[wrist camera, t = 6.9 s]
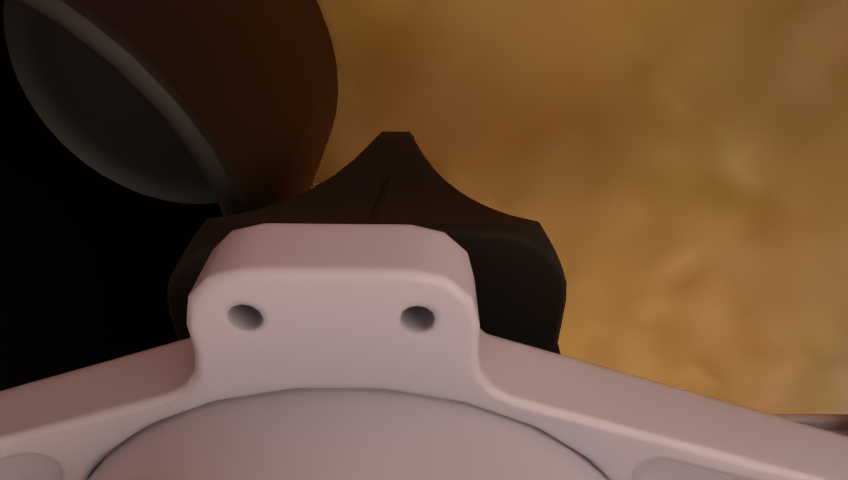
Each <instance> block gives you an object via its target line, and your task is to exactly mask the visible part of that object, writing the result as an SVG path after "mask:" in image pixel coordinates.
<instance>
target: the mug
mask: <svg viewBox="0 0 848 480" xmlns="http://www.w3.org/2000/svg"><path fill="white" fill-rule="evenodd" d="M337 95H338V81H337V67H336V60H335V55H334V51H333V46H332V42H331V38H330V35H329V32H328V29H327V26H326V23H325V21H324V18H323V16H322V13H321V11H320V8H319V6H318V4H317V2H316V0H0V391H3V390H6V389H10V388H13V387H17V386H20V385H24V384H28V383H31V382H35V381H38V380H42V379H45V378H49V377H52V376H56V375H60V374H63V373H67V372H70V371H74V370H77V369H81V368H84V367H88V366H91V365H95V364H99V363H102V362H106V361H109V360H113V359H116V358H120V357H123V356H127V355H131V354H134V353H138V352H141V351H145V350H148V349H152V348H155V347H159V346H162V345H166V344H170V343H173V342H177V341H179V340H178V337H177V334H176V331H175V328H174V324H173V321H172V318H171V315H170V312H169V307H168V299H167V289H168V284H169V280H170V276H171V274H172V272H173V271H174V269H175V267H176V266H177V264H178V262H179V260H180V259H181V257H182V255H183V254H184V252H185V250H186V248H187V247H188V245H189V243H190V242H191V240H192V239H193V237H194V235H195V234H196V233H197V231H198V230H199V229H200V227H201V226H202V224H203V223H204V222H205V220H206V219H210V218H217V217H223V216H228V215H234V214H240V213H245V212H249V211H253V210H257V209H261V208H264V207H268V206H271V205H274V204H277V203H280V202H283V201H285V200H288V199H290V198H292V197H295V196H297V195H299V194H302V193H304V192H306V191H308V190H310V189H311V186H312V183H313V181H314V178H315V175H316V172H317V170H318V167H319V164H320V161H321V158H322V156H323V153H324V150H325V147H326V144H327V142H328V139H329V136H330V133H331V130H332V126H333V122H334V119H335V115H336V106H337Z"/></svg>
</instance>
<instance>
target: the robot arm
mask: <svg viewBox="0 0 848 480" xmlns="http://www.w3.org/2000/svg"><path fill="white" fill-rule="evenodd" d="M167 299H168V307H169V312H170V315H171V318H172V321H173V324H174V328H175V331H176V334H177V337H178V340H179V341H177V342H173V343H170V344H166V345H162V346H159V347H155V348H152V349H148V350H145V351H141V352H138V353H134V354H131V355H127V356H123V357H120V358H116V359H113V360H109V361H106V362H102V363H99V364H95V365H91V366H88V367H84V368H81V369H77V370H74V371H70V372H67V373H63V374H60V375H56V376H52V377H49V378H45V379H42V380H38V381H35V382H31V383H28V384H24V385H20V386H17V387H13V388H10V389H6V390H3V391H0V480H848V415H847V414H767V413H764V412H760V411H757V410H753V409H750V408H746V407H743V406H739V405H736V404H732V403H729V402H725V401H722V400H718V399H715V398H711V397H708V396H704V395H701V394H697V393H694V392H690V391H687V390H683V389H680V388H676V387H673V386H669V385H666V384H662V383H659V382H655V381H652V380H648V379H645V378H641V377H637V376H634V375H630V374H627V373H623V372H620V371H616V370H613V369H609V368H606V367H602V366H599V365H595V364H592V363H588V362H585V361H581V360H578V359H574V358H571V357H567V356H564V355H561V354H560V351H559V347H558V338H559V333H560V328H561V323H562V318H563V313H564V307H565V302H566V280H565V276H564V272H563V269H562V266H561V263H560V260H559V258H558V256H557V253H556V251H555V249H554V248H553V246H552V244H551V242H550V240H549V238H548V237H547V235H546V233H545V231H544V230H543V228H542V226H541V224H540V223H539V222H537V221H533V220H528V219H524V218H520V217H516V216H511V215H508V214H505V213H502V212H499V211H497V210H494V209H491V208H489V207H487V206H484V205H482V204H480V203H478V202H476V201H475V200H473V199H471V198H469V197H467V196H466V195H464V194H462V193H461V192H459V191H458V190H457V189H455V188H454V187H453V186H451V185H450V184H449V183H448V182H446V181H445V180H444V179H443V178H442V177H441V176H440V175H439V174H438V173H437V172H436V170H435V169H434V168H433V167H432V166H431V164H430V163H429V162H428V160H427V159H426V158H425V156H424V155H423V154H422V152H421V150H420V149H419V147H418V145H417V144H416V141H415V139H414V136H413V135H412V134H411V133H410V132H381V133H380V134H379V135H378V136H377V137H376V138H375V139H374V140H373V141H372V142H371V143H370V144H369V146H368V147H367V148H366V149H365V150H364V151H363V152H362V153H361V154H359V155H358V156H357V157H356V158H355V159H354V160H353V161H352V162H351V163H349V164H348V165H347V166H346V167H344V168H343V169H342V170H341V171H339V172H338V173H337V174H335V175H334V176H332V177H331V178H329V179H328V180H326V181H325V182H323V183H321V184H319V185H318V186H316V187H314V188H312V189H310V190H308V191H306V192H304V193H302V194H299V195H297V196H295V197H292V198H290V199H288V200H285V201H283V202H280V203H277V204H274V205H271V206H268V207H264V208H261V209H257V210H253V211H249V212H245V213H240V214H234V215H228V216H223V217H217V218H210V219H206V220H205V222H204V223H203V224H202V226H201V227H200V229H199V230H198V231H197V233H196V234H195V235H194V237H193V239H192V240H191V242H190V243H189V245H188V247H187V248H186V250H185V252H184V254H183V255H182V257H181V259H180V260H179V262H178V264H177V266H176V267H175V269H174V271H173V272H172V274H171V276H170V280H169V284H168V289H167Z"/></svg>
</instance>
